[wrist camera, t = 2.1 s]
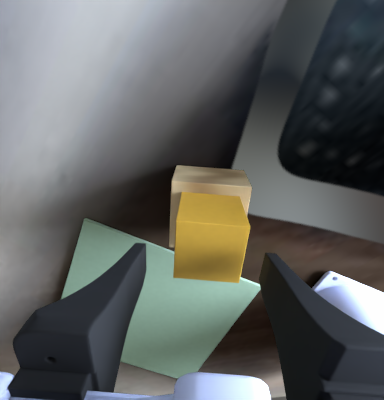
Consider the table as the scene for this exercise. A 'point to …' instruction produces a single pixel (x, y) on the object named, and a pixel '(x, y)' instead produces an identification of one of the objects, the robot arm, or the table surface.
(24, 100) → the table surface
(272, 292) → the robot arm
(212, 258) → the mustard cube
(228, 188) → the birch block
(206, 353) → the sage mat
